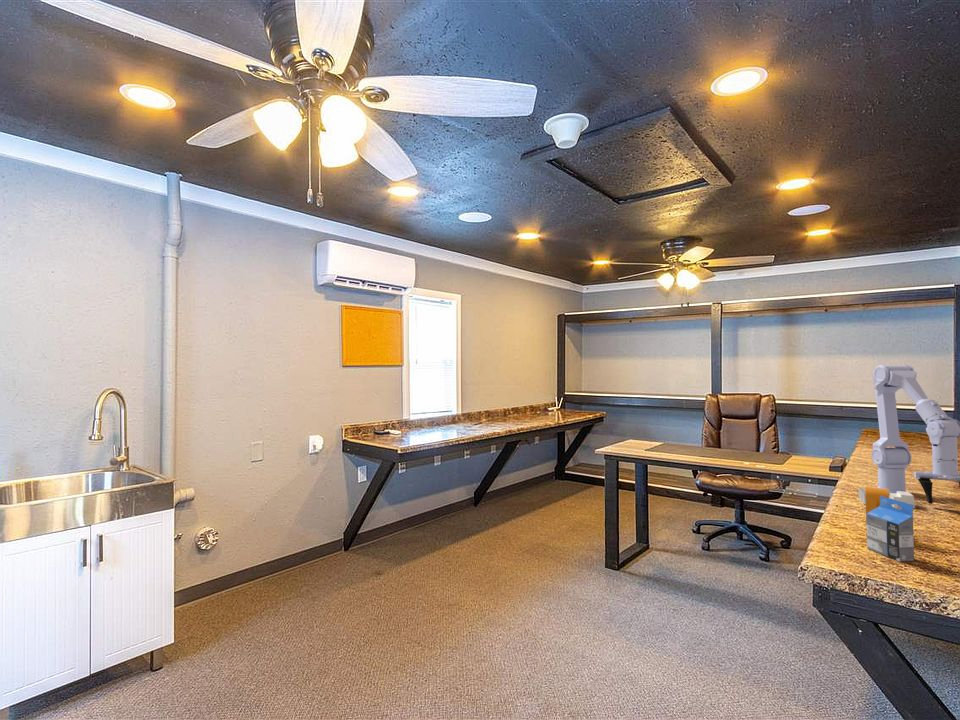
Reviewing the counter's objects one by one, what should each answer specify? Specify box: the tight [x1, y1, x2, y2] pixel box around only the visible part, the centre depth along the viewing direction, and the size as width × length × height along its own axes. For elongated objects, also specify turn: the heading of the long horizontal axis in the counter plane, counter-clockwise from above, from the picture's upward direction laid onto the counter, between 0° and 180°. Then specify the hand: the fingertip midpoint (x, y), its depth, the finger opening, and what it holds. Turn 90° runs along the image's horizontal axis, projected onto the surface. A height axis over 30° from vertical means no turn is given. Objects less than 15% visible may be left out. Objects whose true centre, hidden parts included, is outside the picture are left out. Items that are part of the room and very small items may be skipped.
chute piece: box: [889, 491, 916, 509], centre depth 161 cm, size 6×5×4 cm
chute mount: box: [858, 487, 894, 507], centre depth 164 cm, size 10×7×4 cm
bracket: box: [865, 486, 890, 535], centre depth 130 cm, size 11×7×12 cm, turn 142°
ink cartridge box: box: [865, 496, 915, 563], centre depth 117 cm, size 9×4×12 cm, turn 4°
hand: (946, 504), depth 156 cm, fingers open, 7 cm apart
